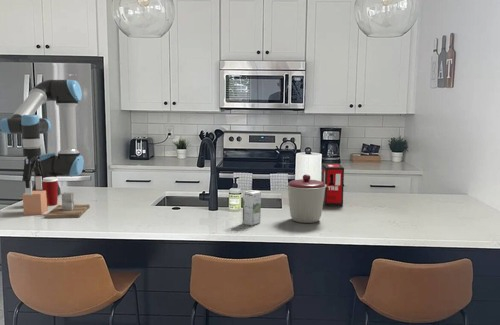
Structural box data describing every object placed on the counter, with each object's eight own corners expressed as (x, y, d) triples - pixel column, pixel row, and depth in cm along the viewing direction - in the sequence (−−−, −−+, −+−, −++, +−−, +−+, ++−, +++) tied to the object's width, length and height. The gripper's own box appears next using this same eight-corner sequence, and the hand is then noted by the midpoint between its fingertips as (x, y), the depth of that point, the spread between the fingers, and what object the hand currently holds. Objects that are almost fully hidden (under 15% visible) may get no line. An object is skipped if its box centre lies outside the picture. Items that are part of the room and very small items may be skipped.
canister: (284, 225, 200) (285, 177, 197) (286, 214, 218) (287, 170, 215) (326, 226, 198) (327, 178, 195) (325, 216, 215) (326, 171, 212)
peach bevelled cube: (30, 210, 223) (28, 190, 222) (47, 210, 224) (46, 190, 223) (23, 215, 215) (22, 194, 214) (41, 214, 216) (40, 193, 215)
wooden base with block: (58, 207, 229) (57, 189, 228) (89, 207, 231) (88, 188, 230) (45, 218, 210) (44, 197, 208) (79, 217, 211) (78, 197, 210)
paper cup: (62, 203, 240) (60, 176, 238) (54, 206, 233) (53, 179, 231) (48, 202, 241) (46, 176, 239) (40, 206, 233) (38, 179, 231)
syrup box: (250, 221, 206) (250, 189, 204) (260, 223, 202) (261, 191, 200) (242, 223, 202) (242, 191, 200) (252, 226, 198) (252, 193, 196)
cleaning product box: (321, 199, 252) (322, 163, 249) (337, 199, 252) (338, 163, 249) (325, 206, 235) (326, 167, 233) (342, 206, 235) (344, 167, 233)
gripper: (32, 145, 227) (35, 187, 230) (12, 150, 203) (15, 197, 205) (48, 145, 228) (50, 187, 231) (30, 150, 203) (32, 197, 206)
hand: (34, 192), depth 218 cm, fingers open, 13 cm apart
